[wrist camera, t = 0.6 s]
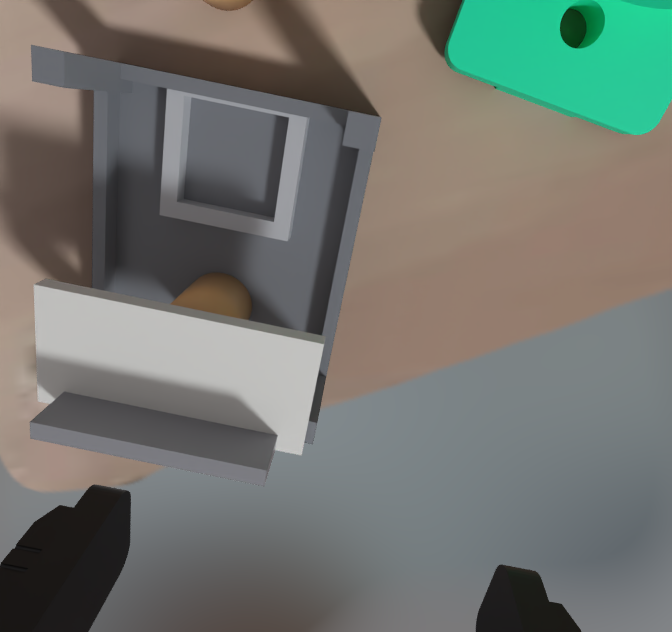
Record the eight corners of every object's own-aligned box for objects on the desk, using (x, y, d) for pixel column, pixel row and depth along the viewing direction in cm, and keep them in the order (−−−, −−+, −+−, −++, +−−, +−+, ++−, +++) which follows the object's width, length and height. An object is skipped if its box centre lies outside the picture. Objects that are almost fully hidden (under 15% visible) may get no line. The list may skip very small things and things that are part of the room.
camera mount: (436, 66, 29) (464, 44, 20) (493, -89, 26) (560, -202, 17) (626, 138, 30) (744, 149, 20) (703, -6, 27) (880, -71, 18)
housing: (115, 61, 30) (31, 44, 23) (380, 116, 30) (381, 117, 23) (109, 333, 37) (42, 388, 30) (325, 378, 37) (312, 444, 30)
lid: (45, 278, 27) (-8, 305, 23) (325, 336, 27) (317, 372, 23) (48, 392, 29) (1, 432, 26) (303, 444, 29) (293, 492, 26)
